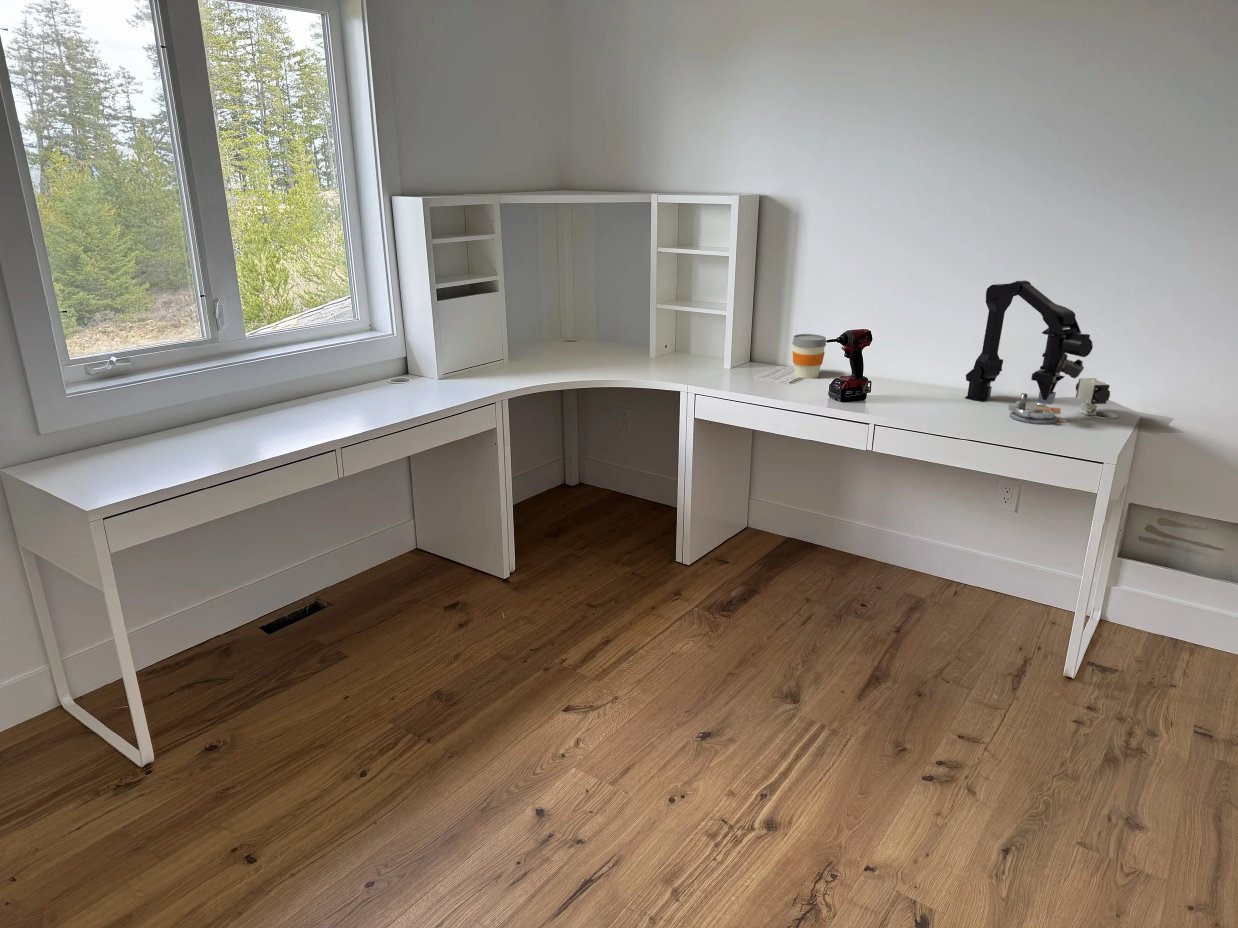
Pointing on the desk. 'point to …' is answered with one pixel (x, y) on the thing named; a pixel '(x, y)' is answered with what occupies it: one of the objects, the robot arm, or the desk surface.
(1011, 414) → the plinth
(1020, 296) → the robot arm
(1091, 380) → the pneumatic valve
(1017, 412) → the sprocket
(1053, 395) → the banded grey cube
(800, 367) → the reusable coffee cup
